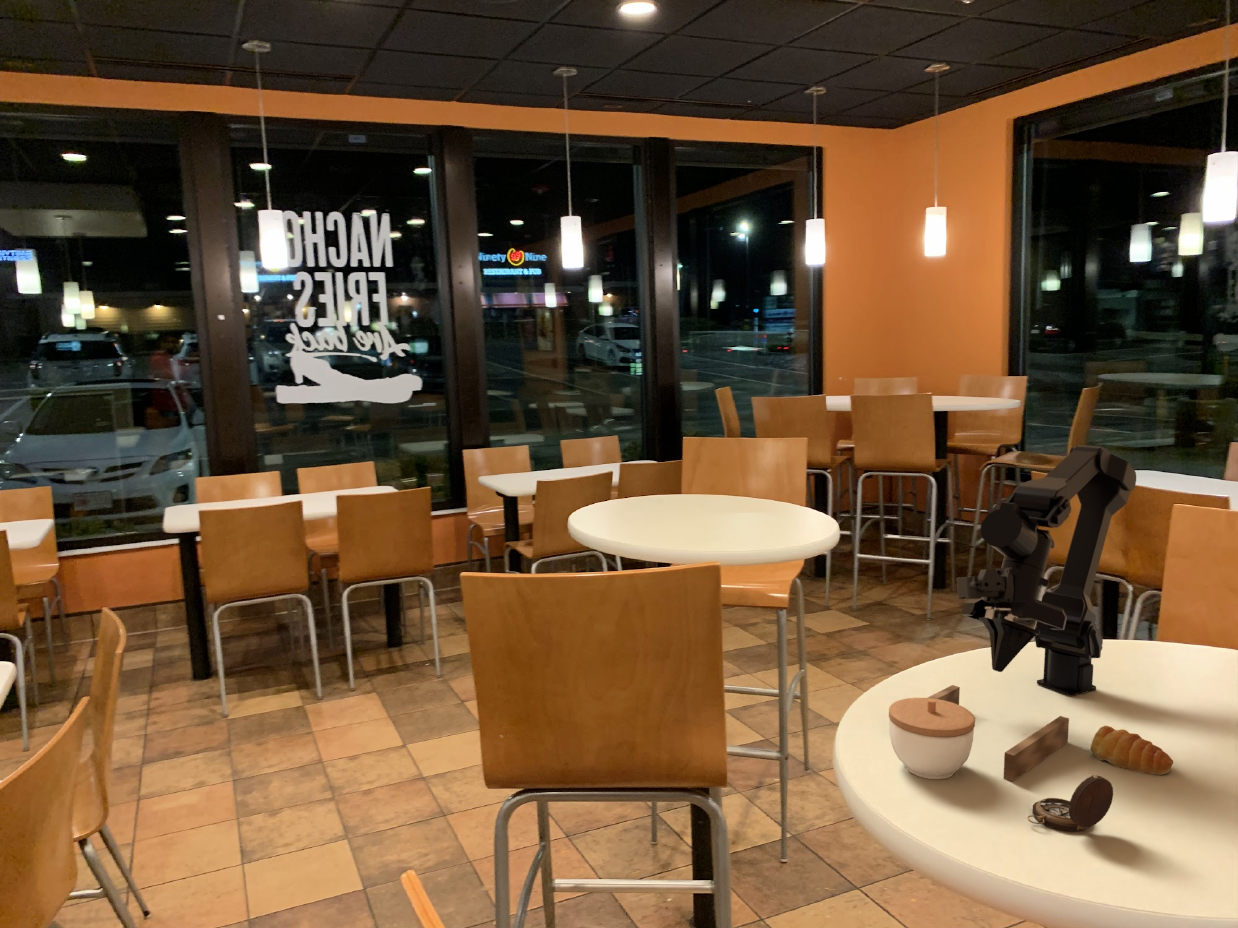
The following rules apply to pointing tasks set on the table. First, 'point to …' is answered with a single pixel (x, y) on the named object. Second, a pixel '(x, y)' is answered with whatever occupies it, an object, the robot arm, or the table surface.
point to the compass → (1076, 806)
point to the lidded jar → (931, 736)
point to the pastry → (1130, 751)
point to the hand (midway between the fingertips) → (996, 670)
